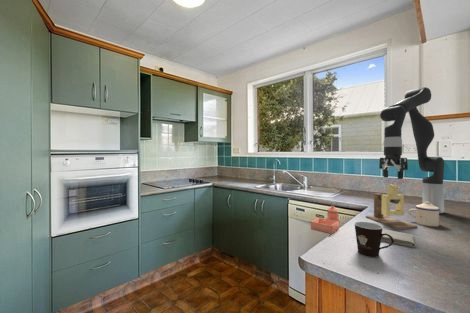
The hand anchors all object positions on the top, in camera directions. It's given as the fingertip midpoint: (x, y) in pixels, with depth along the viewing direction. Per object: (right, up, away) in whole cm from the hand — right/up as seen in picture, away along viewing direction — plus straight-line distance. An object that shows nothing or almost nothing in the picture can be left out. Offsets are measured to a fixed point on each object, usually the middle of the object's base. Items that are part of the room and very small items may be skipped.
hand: (392, 178), depth 111 cm
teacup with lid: (+16, -24, 0) cm, 28 cm away
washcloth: (-15, -24, -19) cm, 34 cm away
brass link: (0, -18, 0) cm, 18 cm away
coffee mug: (-32, -24, -34) cm, 53 cm away
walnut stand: (0, -24, +1) cm, 24 cm away
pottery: (-35, -24, -5) cm, 42 cm away
